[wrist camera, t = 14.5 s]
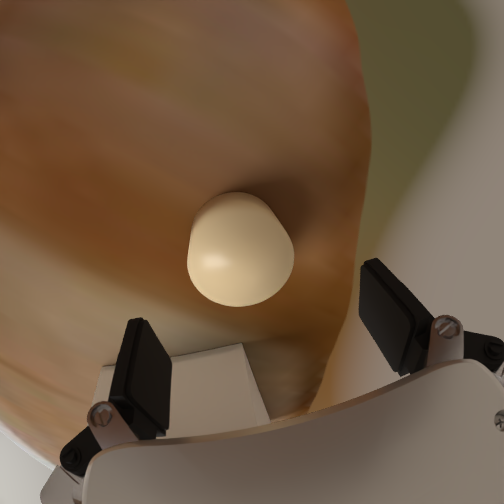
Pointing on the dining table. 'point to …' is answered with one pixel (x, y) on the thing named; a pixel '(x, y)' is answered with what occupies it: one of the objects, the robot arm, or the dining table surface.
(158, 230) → the dining table surface
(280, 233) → the beige egg-shaped stone
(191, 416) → the carton
